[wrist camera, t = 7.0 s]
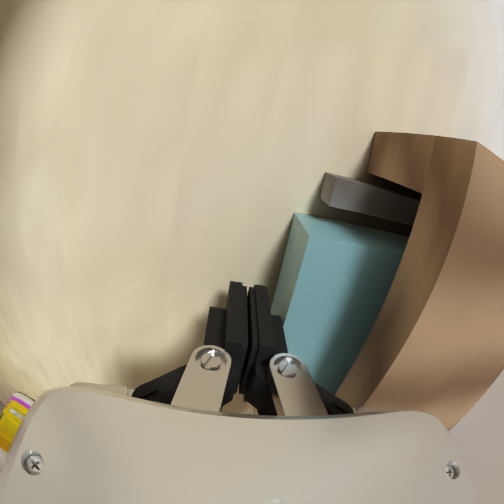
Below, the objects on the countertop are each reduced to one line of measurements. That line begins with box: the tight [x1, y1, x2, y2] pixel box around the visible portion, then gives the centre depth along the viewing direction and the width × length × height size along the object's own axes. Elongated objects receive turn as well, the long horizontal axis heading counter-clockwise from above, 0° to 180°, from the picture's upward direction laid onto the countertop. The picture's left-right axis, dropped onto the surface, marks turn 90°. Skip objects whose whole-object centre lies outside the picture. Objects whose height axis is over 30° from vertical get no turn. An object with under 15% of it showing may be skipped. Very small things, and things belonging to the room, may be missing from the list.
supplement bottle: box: [0, 392, 34, 475], centre depth 15 cm, size 7×7×13 cm
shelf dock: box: [320, 132, 504, 431], centre depth 12 cm, size 18×13×6 cm
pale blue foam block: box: [270, 213, 409, 395], centre depth 13 cm, size 9×12×3 cm
